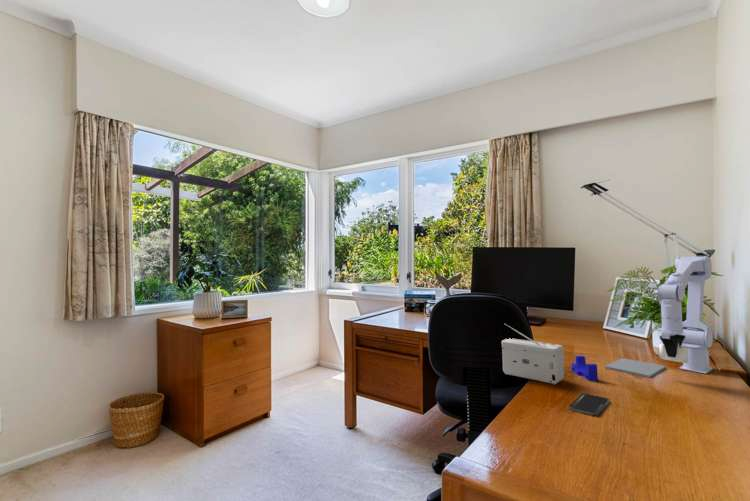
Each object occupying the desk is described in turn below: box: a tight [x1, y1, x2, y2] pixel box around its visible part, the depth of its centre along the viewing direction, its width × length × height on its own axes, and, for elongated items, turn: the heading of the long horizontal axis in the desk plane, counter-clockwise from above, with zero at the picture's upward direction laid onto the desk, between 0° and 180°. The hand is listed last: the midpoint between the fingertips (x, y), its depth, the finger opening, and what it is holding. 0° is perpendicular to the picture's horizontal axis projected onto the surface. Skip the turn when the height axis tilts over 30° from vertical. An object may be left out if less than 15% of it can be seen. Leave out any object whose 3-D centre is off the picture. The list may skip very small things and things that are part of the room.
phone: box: [568, 392, 611, 417], centre depth 109 cm, size 8×1×15 cm
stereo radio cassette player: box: [500, 323, 565, 385], centre depth 136 cm, size 21×8×20 cm, turn 47°
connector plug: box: [658, 343, 688, 364], centre depth 128 cm, size 3×8×6 cm, turn 35°
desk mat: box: [604, 358, 667, 379], centre depth 142 cm, size 17×15×1 cm
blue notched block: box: [571, 355, 599, 382], centre depth 136 cm, size 12×4×6 cm, turn 171°
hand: (673, 355), depth 128 cm, fingers closed on connector plug, 3 cm apart
